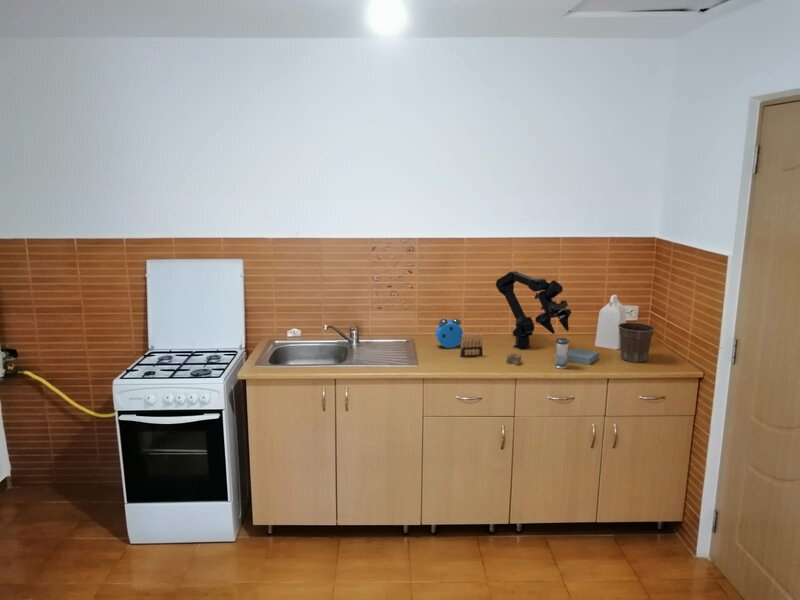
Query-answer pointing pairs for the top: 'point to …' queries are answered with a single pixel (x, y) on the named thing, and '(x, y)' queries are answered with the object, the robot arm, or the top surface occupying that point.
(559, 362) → the glass shaker
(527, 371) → the top surface
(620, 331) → the plant pot
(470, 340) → the ammunition clip
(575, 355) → the stand
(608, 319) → the milk
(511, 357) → the offcut block
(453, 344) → the alarm clock
